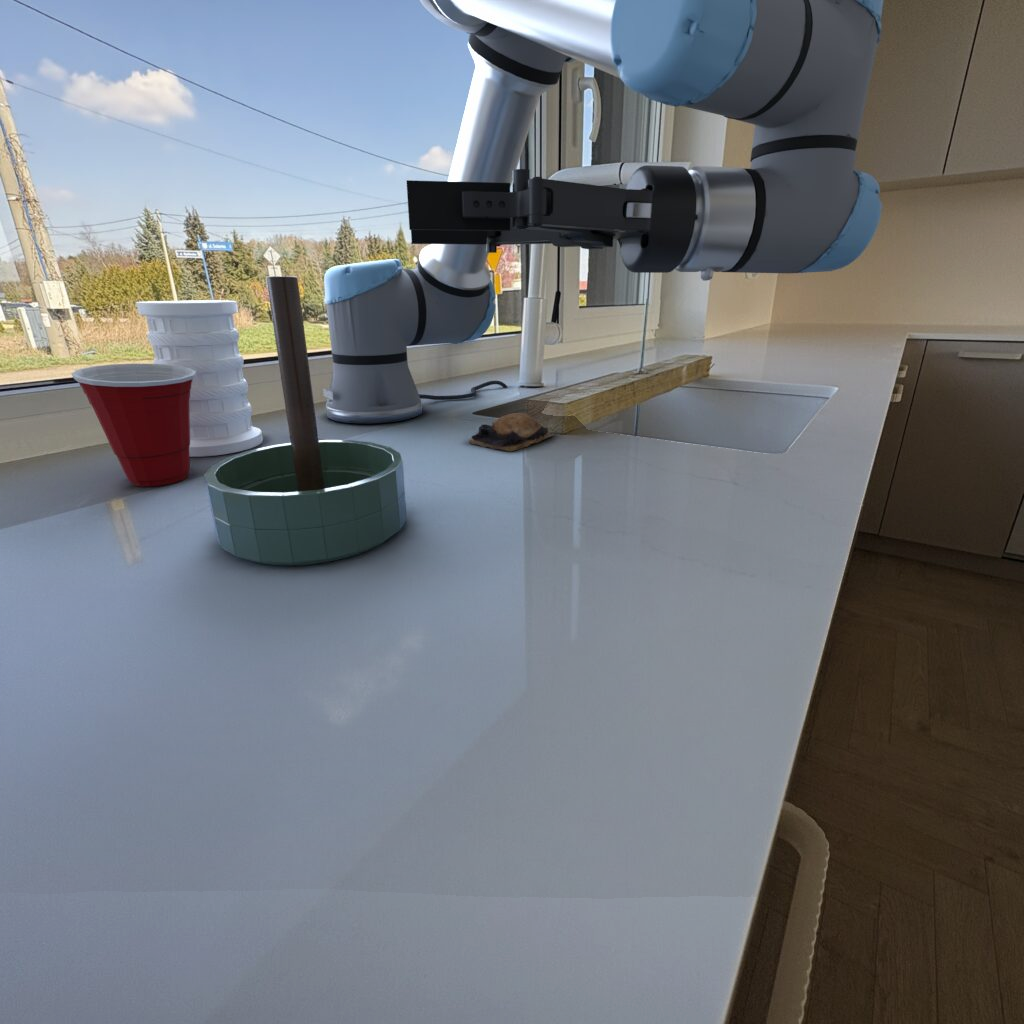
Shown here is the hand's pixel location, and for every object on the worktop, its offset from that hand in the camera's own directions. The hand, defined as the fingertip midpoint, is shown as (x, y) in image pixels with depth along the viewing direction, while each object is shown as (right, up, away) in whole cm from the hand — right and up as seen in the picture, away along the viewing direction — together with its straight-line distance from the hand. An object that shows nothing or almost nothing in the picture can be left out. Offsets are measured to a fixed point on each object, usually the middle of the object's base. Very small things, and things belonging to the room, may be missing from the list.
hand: (408, 217), depth 42 cm
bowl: (-10, -23, +8) cm, 27 cm away
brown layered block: (+8, -12, +37) cm, 39 cm away
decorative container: (-32, -13, +34) cm, 48 cm away
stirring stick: (-10, -23, +8) cm, 26 cm away
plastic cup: (-31, -18, +21) cm, 42 cm away
